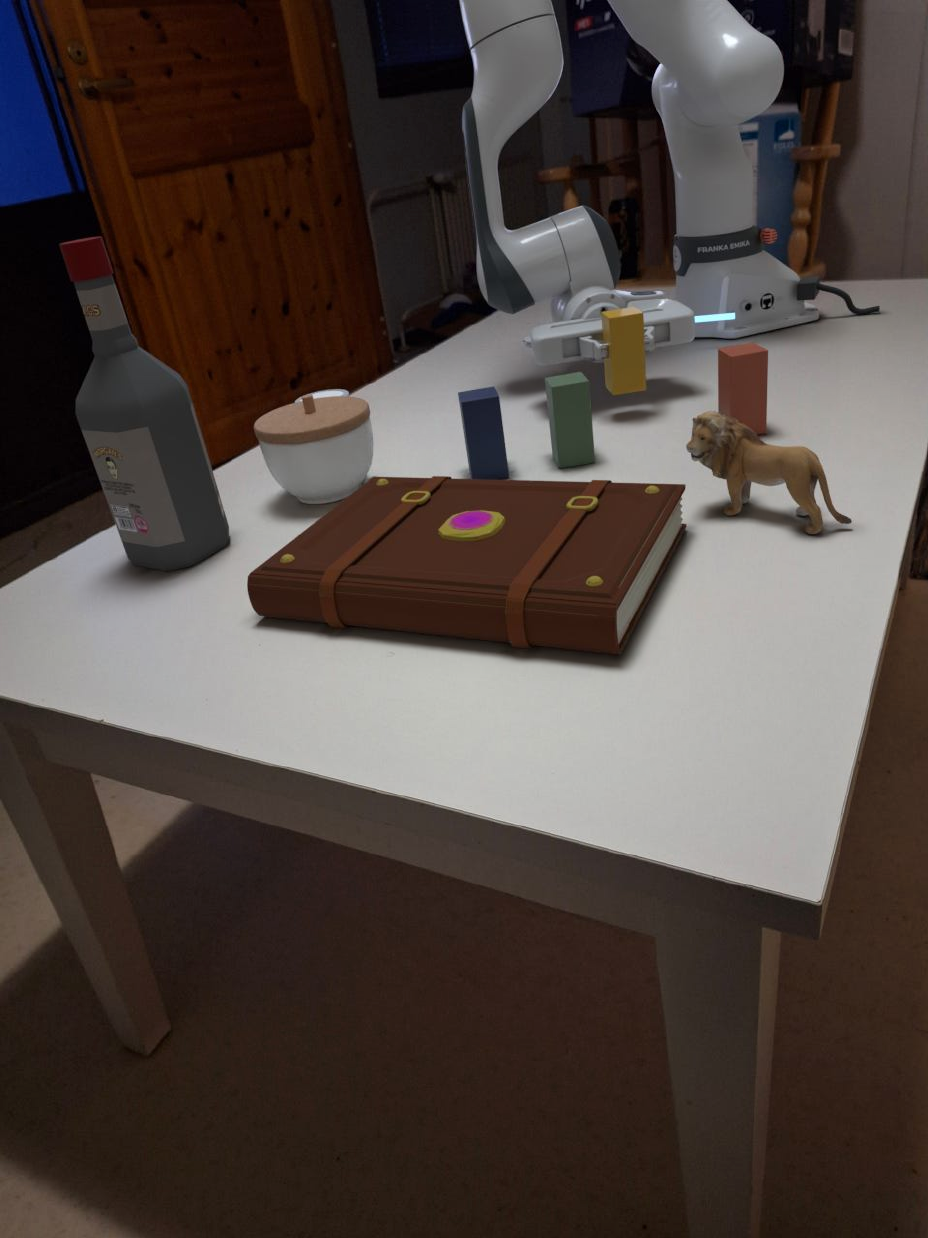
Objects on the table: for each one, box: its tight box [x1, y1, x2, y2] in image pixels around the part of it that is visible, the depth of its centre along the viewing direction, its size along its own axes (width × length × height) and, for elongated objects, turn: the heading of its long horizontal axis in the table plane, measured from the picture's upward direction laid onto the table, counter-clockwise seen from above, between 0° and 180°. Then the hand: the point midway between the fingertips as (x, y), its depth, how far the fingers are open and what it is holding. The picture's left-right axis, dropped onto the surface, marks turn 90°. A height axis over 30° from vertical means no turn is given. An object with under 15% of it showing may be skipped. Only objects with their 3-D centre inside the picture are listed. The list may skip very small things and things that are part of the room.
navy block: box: [457, 386, 510, 480], centre depth 97 cm, size 4×4×9 cm
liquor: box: [58, 236, 230, 572], centre depth 85 cm, size 9×9×30 cm
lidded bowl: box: [253, 394, 375, 505], centre depth 99 cm, size 13×13×11 cm
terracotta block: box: [717, 342, 769, 436], centre depth 97 cm, size 4×4×9 cm
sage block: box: [544, 371, 596, 469], centre depth 97 cm, size 4×4×9 cm
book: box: [246, 475, 687, 655], centre depth 77 cm, size 23×32×5 cm
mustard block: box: [601, 307, 647, 396], centre depth 106 cm, size 4×4×9 cm
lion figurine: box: [685, 410, 853, 535], centre depth 78 cm, size 15×5×9 cm, turn 50°
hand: (625, 348), depth 105 cm, fingers closed on mustard block, 4 cm apart
